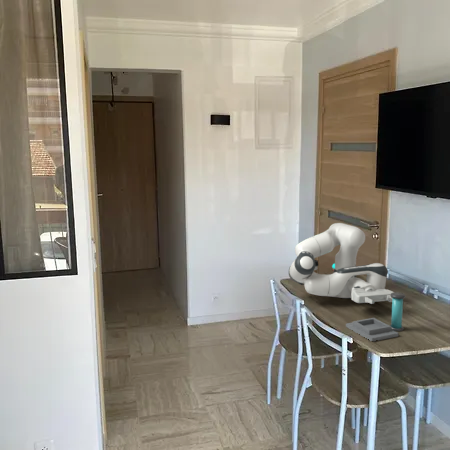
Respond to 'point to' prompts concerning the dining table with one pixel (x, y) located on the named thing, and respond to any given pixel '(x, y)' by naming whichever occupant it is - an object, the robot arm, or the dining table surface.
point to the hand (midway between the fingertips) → (382, 301)
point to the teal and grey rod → (397, 311)
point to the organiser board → (372, 329)
